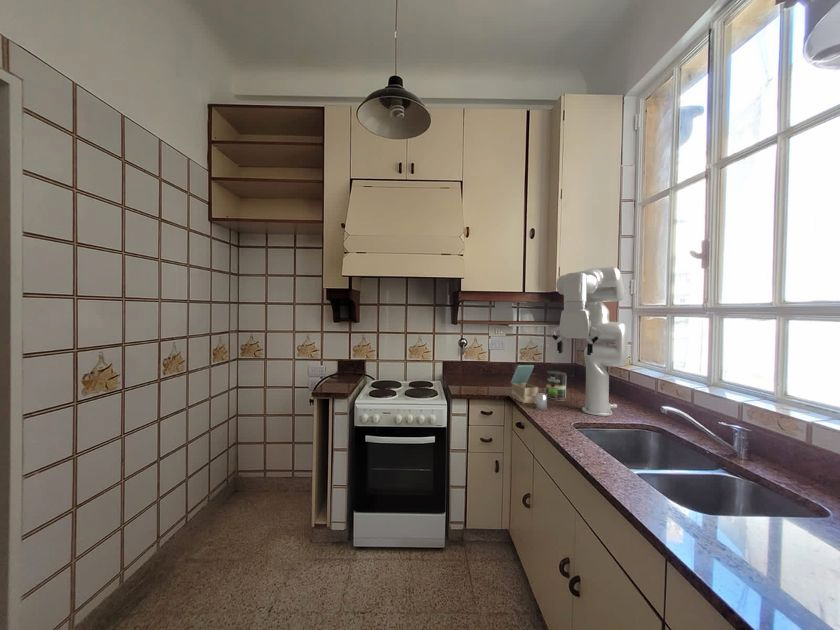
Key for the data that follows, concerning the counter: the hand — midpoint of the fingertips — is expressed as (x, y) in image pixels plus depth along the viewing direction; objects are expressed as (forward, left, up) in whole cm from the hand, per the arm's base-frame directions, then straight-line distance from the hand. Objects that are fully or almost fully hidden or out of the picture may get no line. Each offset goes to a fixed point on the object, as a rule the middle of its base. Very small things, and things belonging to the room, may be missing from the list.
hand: (574, 353), depth 124 cm
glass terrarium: (-32, -56, -31) cm, 72 cm away
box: (-12, -54, -31) cm, 64 cm away
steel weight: (-12, -39, -31) cm, 51 cm away
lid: (-12, -57, -18) cm, 61 cm away
